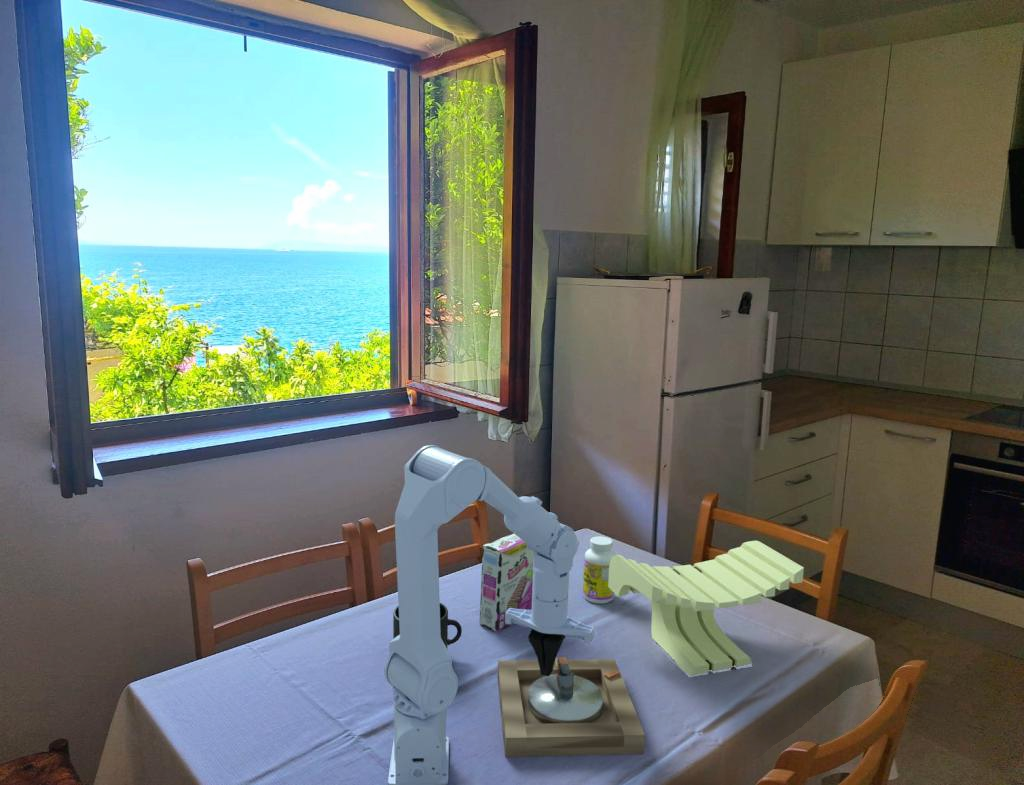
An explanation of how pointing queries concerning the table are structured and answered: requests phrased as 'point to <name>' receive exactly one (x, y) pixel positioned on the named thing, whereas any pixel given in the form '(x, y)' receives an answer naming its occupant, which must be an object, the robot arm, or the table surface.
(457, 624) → the mug
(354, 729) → the table surface
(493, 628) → the candy bar box
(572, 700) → the dial
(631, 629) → the table surface
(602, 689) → the board
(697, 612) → the slatted curved stool
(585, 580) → the supplement bottle
